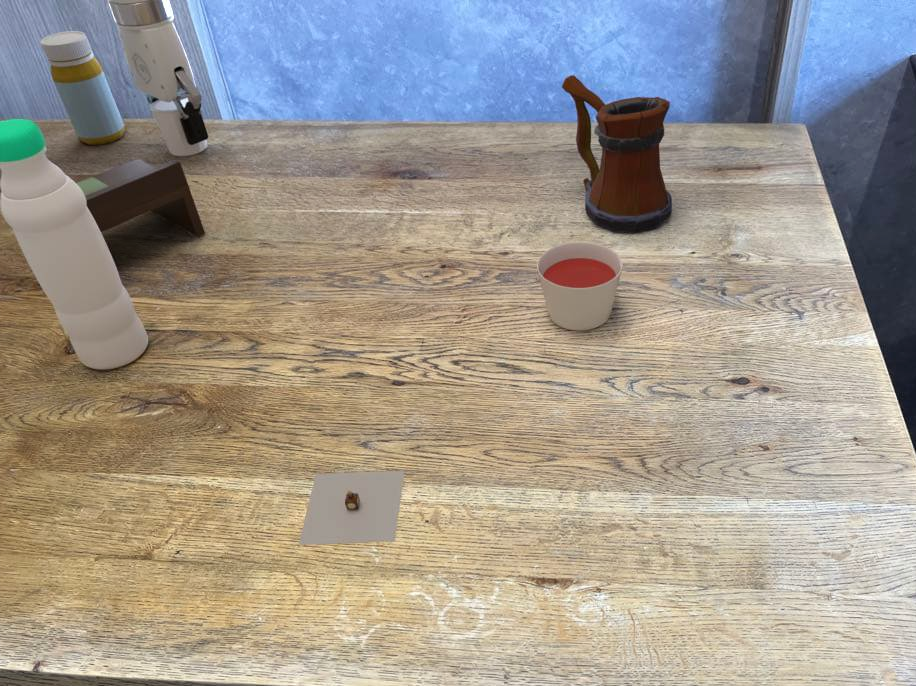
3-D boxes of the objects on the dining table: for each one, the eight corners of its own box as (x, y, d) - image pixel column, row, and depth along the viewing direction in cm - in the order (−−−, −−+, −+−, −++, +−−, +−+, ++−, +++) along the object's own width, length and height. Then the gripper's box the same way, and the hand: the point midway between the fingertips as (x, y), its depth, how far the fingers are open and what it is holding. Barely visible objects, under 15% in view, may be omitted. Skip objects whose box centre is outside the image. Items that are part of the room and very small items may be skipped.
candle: (530, 297, 93) (527, 249, 88) (605, 284, 94) (607, 236, 90) (550, 344, 86) (549, 295, 82) (631, 329, 88) (634, 279, 83)
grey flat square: (404, 470, 73) (401, 456, 72) (394, 541, 68) (391, 526, 66) (316, 473, 73) (311, 459, 72) (298, 544, 68) (292, 530, 66)
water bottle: (73, 376, 85) (-52, 148, 68) (90, 336, 90) (-23, 114, 73) (143, 368, 85) (36, 139, 69) (156, 328, 91) (59, 106, 74)
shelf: (41, 256, 103) (4, 183, 96) (156, 206, 112) (129, 136, 105) (88, 289, 97) (51, 214, 90) (205, 234, 106) (180, 161, 99)
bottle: (134, 135, 129) (96, 36, 119) (91, 150, 126) (48, 49, 116) (114, 123, 133) (76, 26, 123) (72, 137, 129) (29, 39, 119)
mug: (535, 192, 111) (531, 81, 101) (600, 166, 116) (601, 58, 106) (624, 245, 100) (629, 127, 90) (691, 214, 105) (703, 99, 95)
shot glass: (219, 139, 127) (205, 94, 122) (198, 159, 122) (183, 113, 117) (179, 137, 128) (164, 92, 123) (156, 156, 123) (139, 111, 119)
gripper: (85, 6, 114) (132, 129, 126) (150, 30, 105) (194, 159, 117) (134, -8, 118) (175, 113, 130) (201, 14, 110) (238, 141, 122)
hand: (184, 134), depth 124 cm, fingers open, 7 cm apart
